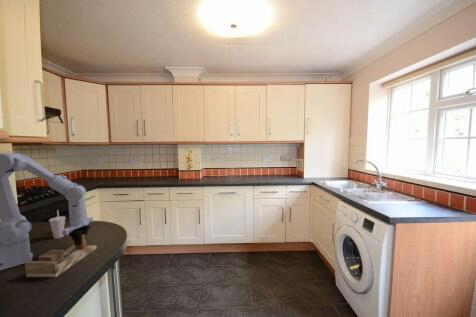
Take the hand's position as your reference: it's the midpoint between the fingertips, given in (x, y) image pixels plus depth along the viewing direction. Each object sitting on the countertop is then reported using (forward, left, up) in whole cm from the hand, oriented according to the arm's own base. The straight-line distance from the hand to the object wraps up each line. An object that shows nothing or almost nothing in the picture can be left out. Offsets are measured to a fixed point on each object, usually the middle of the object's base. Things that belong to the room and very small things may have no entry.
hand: (80, 243), depth 91 cm
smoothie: (-7, +25, -3) cm, 26 cm away
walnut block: (-5, -5, -2) cm, 8 cm away
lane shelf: (-6, -6, -3) cm, 8 cm away
